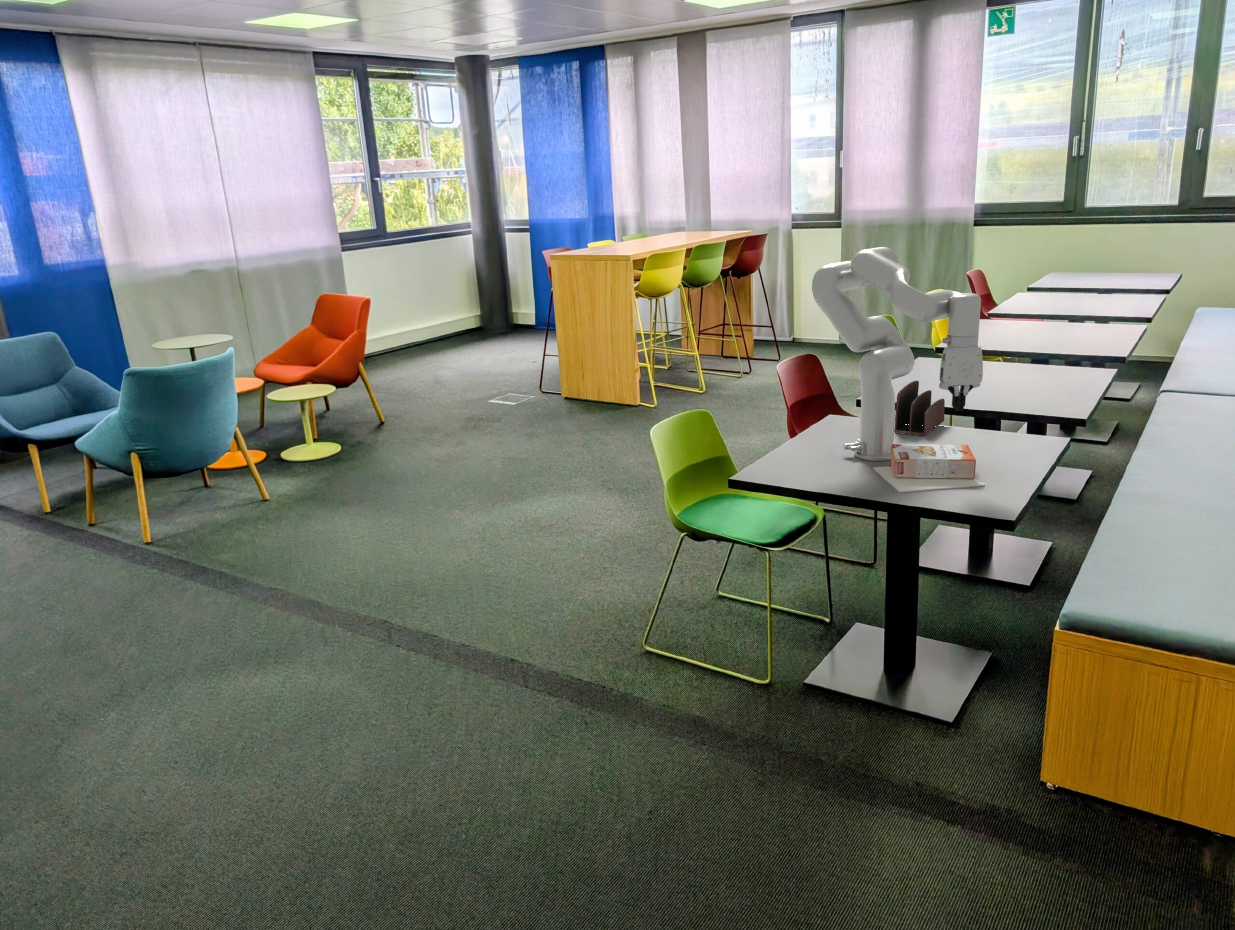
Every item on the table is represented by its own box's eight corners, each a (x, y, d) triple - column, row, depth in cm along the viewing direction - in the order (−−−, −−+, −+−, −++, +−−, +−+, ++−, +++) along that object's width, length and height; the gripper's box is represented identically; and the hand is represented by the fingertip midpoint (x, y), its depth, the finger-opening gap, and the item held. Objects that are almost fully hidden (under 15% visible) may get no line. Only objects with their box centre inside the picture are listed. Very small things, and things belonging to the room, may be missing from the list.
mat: (899, 492, 239) (899, 491, 238) (873, 468, 258) (873, 467, 257) (984, 486, 240) (984, 484, 240) (952, 462, 259) (952, 461, 259)
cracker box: (976, 458, 242) (894, 458, 246) (975, 479, 244) (894, 479, 248) (967, 442, 255) (890, 443, 259) (966, 463, 257) (889, 463, 261)
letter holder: (893, 433, 290) (895, 390, 285) (914, 418, 305) (916, 377, 301) (925, 437, 284) (927, 393, 280) (944, 421, 299) (947, 379, 295)
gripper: (940, 346, 234) (936, 415, 239) (997, 342, 235) (991, 411, 240) (928, 340, 241) (925, 407, 247) (983, 337, 242) (979, 404, 247)
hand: (958, 409), depth 243 cm, fingers closed
